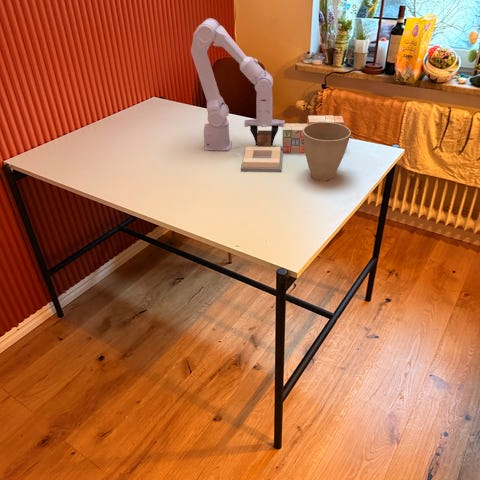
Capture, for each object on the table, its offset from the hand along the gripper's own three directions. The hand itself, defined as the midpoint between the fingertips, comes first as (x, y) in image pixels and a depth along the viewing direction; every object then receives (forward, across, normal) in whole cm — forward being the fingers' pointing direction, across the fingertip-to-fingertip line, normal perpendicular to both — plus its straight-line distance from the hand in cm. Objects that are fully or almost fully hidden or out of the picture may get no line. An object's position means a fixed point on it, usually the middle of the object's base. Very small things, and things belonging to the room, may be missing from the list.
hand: (264, 144), depth 169 cm
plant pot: (+2, +21, -21) cm, 30 cm away
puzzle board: (+1, 0, -12) cm, 12 cm away
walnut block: (+1, 0, 0) cm, 1 cm away
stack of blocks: (+2, +17, -1) cm, 18 cm away
